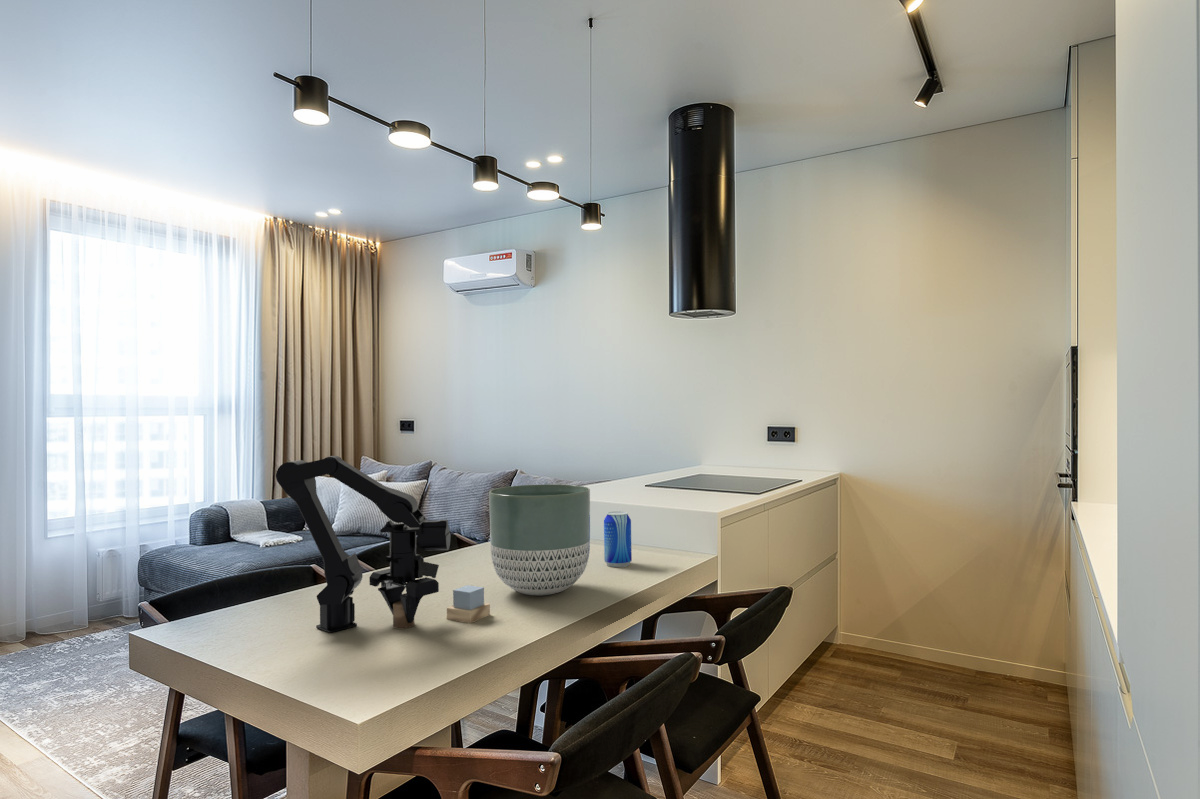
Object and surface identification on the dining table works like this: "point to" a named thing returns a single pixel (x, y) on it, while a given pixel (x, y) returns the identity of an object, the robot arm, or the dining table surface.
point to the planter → (540, 536)
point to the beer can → (617, 539)
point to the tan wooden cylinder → (400, 616)
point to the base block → (468, 613)
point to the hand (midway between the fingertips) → (403, 620)
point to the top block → (468, 597)
